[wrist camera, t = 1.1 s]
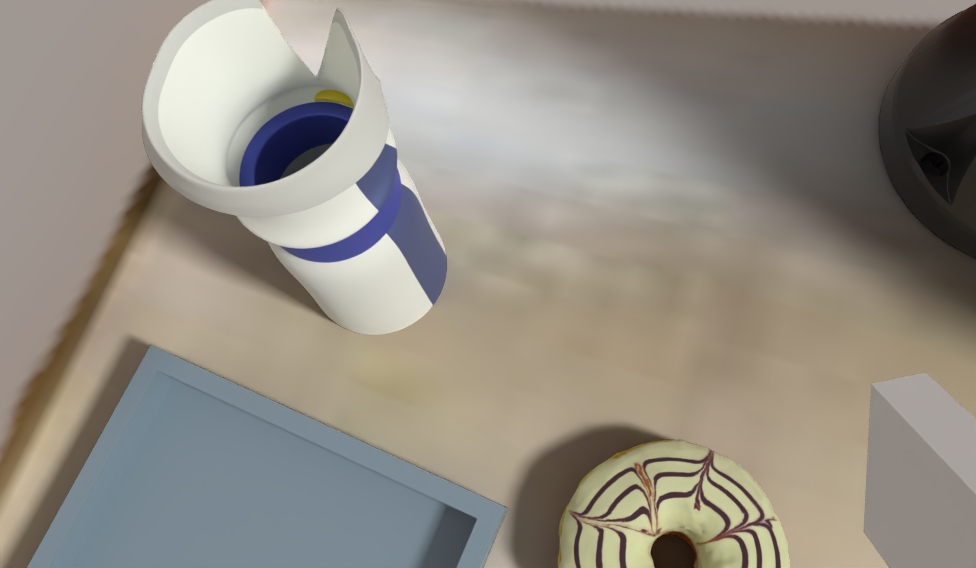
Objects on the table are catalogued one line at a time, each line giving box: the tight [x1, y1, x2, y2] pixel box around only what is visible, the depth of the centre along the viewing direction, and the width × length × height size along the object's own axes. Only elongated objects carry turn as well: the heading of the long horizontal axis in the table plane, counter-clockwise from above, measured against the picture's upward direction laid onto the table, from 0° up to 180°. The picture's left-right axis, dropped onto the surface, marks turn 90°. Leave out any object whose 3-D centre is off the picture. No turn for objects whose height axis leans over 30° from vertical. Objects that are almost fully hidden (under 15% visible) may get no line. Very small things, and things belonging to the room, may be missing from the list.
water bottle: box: [142, 0, 447, 335], centre depth 33 cm, size 8×9×25 cm
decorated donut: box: [558, 440, 790, 568], centre depth 37 cm, size 10×11×4 cm
